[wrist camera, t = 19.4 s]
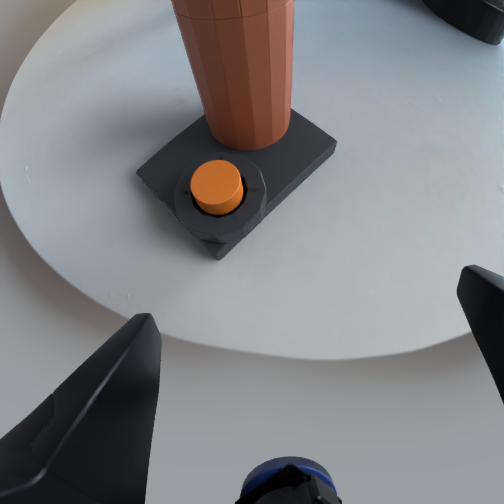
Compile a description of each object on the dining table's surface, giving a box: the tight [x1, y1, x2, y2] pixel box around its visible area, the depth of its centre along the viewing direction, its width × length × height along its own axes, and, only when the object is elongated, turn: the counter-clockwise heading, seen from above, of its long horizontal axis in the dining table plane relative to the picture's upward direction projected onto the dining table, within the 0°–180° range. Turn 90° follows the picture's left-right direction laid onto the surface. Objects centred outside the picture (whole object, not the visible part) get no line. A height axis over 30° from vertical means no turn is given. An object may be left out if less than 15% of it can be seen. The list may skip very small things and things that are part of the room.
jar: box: [171, 0, 294, 151], centre depth 17 cm, size 7×7×14 cm
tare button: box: [190, 160, 243, 215], centre depth 20 cm, size 3×3×2 cm
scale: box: [136, 109, 337, 260], centre depth 23 cm, size 13×11×4 cm
